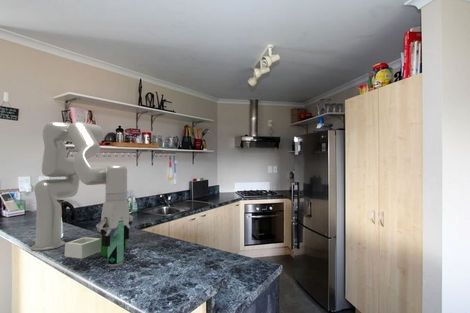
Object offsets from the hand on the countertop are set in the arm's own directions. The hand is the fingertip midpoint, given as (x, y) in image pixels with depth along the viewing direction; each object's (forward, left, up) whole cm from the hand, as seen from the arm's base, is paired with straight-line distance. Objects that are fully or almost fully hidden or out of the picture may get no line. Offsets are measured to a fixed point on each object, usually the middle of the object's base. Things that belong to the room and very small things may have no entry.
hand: (116, 242), depth 94 cm
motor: (-11, +10, -8) cm, 17 cm away
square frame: (-22, +5, -8) cm, 24 cm away
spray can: (0, 0, -8) cm, 8 cm away
